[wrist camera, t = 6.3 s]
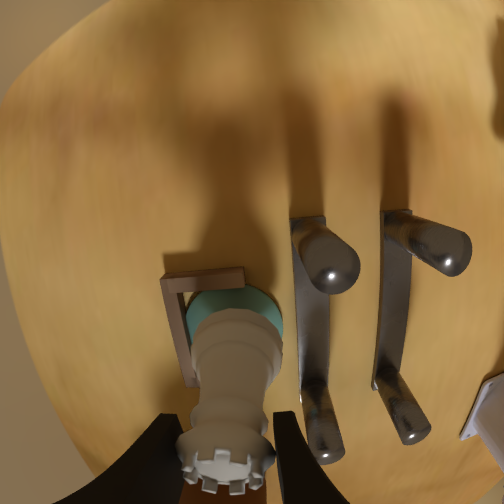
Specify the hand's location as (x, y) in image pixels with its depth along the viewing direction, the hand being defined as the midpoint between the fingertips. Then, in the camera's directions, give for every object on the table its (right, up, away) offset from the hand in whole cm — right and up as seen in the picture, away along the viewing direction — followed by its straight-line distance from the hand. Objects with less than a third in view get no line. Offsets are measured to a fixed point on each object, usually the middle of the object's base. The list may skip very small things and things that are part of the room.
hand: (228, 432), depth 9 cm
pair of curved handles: (+7, +3, +8) cm, 10 cm away
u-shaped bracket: (0, +2, +8) cm, 8 cm away
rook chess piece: (0, +2, +6) cm, 6 cm away
